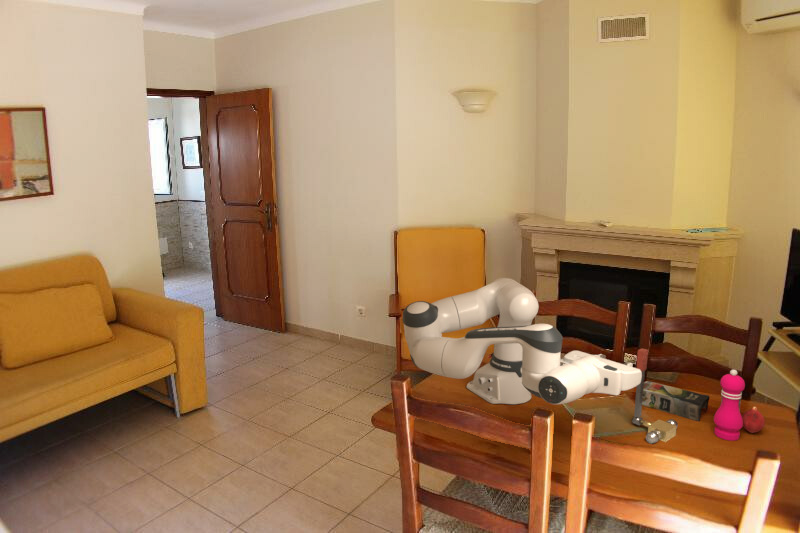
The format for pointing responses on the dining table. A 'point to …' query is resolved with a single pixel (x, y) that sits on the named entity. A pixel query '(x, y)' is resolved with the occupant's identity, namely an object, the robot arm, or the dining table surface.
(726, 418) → the pepper mill
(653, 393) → the juice carton
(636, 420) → the valve lever
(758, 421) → the onion
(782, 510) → the dining table surface
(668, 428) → the valve body
